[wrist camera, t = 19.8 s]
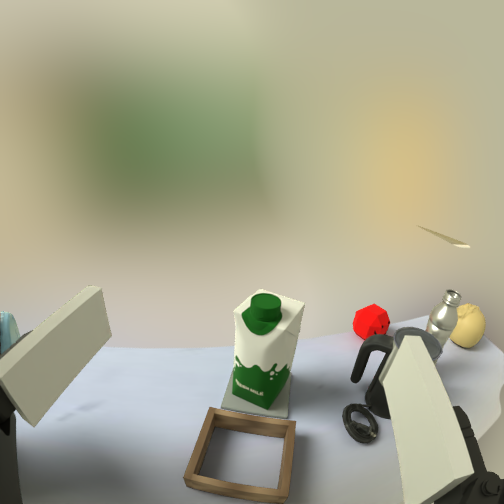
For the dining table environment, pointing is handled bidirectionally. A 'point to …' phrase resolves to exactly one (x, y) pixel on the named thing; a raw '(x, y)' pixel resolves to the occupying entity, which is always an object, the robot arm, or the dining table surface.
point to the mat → (240, 405)
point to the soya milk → (264, 346)
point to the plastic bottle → (444, 317)
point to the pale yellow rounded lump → (468, 326)
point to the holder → (248, 426)
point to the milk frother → (380, 378)
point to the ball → (371, 321)
